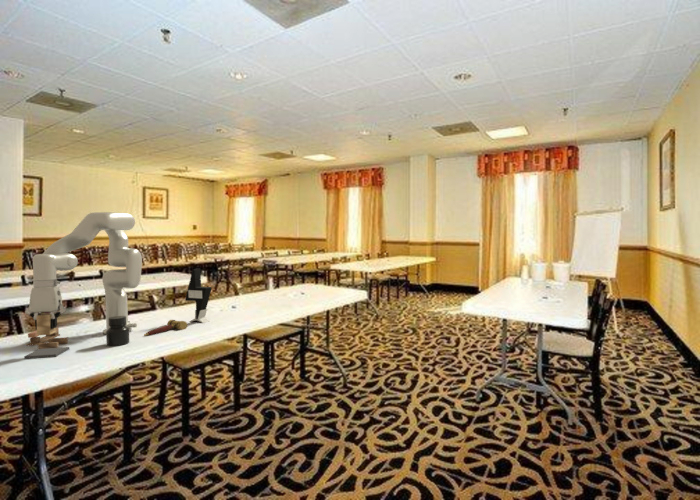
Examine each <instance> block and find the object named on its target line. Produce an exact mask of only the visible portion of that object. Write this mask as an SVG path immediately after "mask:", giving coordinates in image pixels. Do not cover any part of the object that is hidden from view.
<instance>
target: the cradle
mask: <svg viewBox="0 0 700 500" xmlns="http://www.w3.org/2000/svg"><path fill="white" fill-rule="evenodd" d="M68 338H69V337H55V338H50V339H48V341H47V342H44V343H39V344H38V345H37V346H38V347H37V348H38V349H44V348H60V346H59V345H63V344H64V345H65V344H68V343H69V342H68V341H69V340H68ZM38 349H37V350H38Z"/></svg>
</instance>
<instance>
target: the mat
mask: <svg viewBox="0 0 700 500" xmlns="http://www.w3.org/2000/svg"><path fill="white" fill-rule="evenodd" d="M69 350H70V346H64V347H63V346H62V347H60V346H59V348H44V349H36V350H35V351H33V352H30V353H29V354H26V355H24V356H23V357H24V358H23V359H24V360H26V359H27V360H29V359H43V358H55V357H58V356H60V355H62V354H63V353H66V352H68V351H69Z"/></svg>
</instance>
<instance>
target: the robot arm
mask: <svg viewBox="0 0 700 500" xmlns="http://www.w3.org/2000/svg"><path fill="white" fill-rule="evenodd" d="M135 224H136V219H135V217H134V216H133V215H132V214H131V213H127V212H109V211H108V212H107V211H102V212H90V213H88V214H86V215H85V216H84V218H83V219H82V220H81V221H80V223H78V224H77V226H76V227H75V228H74V229H73V230H72V232H70V233H68V234H67V235H65V236H63V237H62V238H59V239H58V240H56V241H55V242H53V243H52V244H51V245H49V246H48V247H47V249H45V251H44V252H43V253H39V254H34V255H33V257H32V274H33V275H32V278H33V279H32V280H33V284H32V285H33V287H31V291H30V295H29V305H28V307H27V308H26V310H25V311H24V313H25V314H27V315H29V316H30V317H31V318H32V319H33V320H34V327H35V331H37V315H40V314H43V313H50V314H51V317H52V319H51V320H50V323H51V329H53V328H56V327H57V326H58V318H59V317H60V316H61V315H62V314H64V313H65V312H66V311H67V309H66V307H65V306H64V305H63V297H62V292H61V289H60V286H58V285H60V284H61V281H60V280H58V279H57V271H60V272H61V271H71V270H74V269H75V268H76V267H77V266H78V265H79V264H78V258H77V256H76V255H74V254H73V253H71V252H72V251H75V250H78V249H82V248H85V247H87V246H89V245H91V243H92V242H93V240H94V239H95V238H96V237H97V235H98V234H99V233H100V232H101V231H105V233H106V235H107V236H108V255H107V262H108V263H107V264H108V265H109V266H111V267H114V268H125V269H111V270H108V271H105V272H104V274H103V275H102V285H103V289H104V293H105V295H104V296H105V321H106V323H105V324H106V328H104V329H103V331H102V334H104V335H106V331H107V329H109V319H108V318H110V317H114V316H126V325H125V326H127V327H128V328H129V332H131V331H132V328H137V326H138V323H136V322H135V323H134V322H132V323H131V321H130V320H129V317H128V316H129V315H128V314H129V312H128V311H129V309H128V294H127V291H125V290H126V289H129V290H130V289H135V288H137V287H138V286H139V285H140V282H141V278H142V269H143V268H142V267H143V256H142V253H141V252H140V250H138V249H137V248H132V247H131V248H129V237H128V235H127V233H126V231H130V230H132V229H133V228H134V227H135Z"/></svg>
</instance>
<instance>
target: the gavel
mask: <svg viewBox="0 0 700 500" xmlns="http://www.w3.org/2000/svg"><path fill="white" fill-rule="evenodd" d="M187 327H188V322H187V321H184V320H181V321H180V320H176V319H169V320H168V321H167V325H164V326H161V327H158V328H155V329H151V330H148V331H147V332H145V333H144V334H143V336H144V337H146V336H147V337H149V336H153V335H158V334H161V333H164V332H167V331H170V330H173V329H176V330H180V331H182V330H186V329H187Z"/></svg>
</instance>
